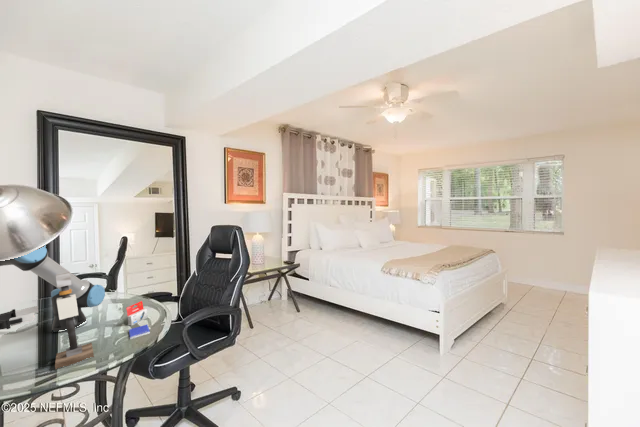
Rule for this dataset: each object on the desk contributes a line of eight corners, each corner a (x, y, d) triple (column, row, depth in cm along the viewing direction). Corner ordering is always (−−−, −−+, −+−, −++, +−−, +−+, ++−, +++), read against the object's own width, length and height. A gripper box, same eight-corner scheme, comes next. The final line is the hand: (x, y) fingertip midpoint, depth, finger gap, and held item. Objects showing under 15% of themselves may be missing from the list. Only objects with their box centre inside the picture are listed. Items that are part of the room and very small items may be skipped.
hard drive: (149, 331, 143) (147, 324, 153) (129, 337, 138) (128, 329, 149) (150, 334, 143) (147, 327, 153) (130, 340, 139) (129, 332, 149)
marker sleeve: (59, 316, 125) (57, 298, 125) (78, 312, 129) (75, 294, 129) (59, 320, 120) (56, 300, 120) (78, 315, 124) (75, 296, 124)
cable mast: (57, 358, 127) (44, 275, 125) (92, 346, 134) (80, 268, 133) (55, 369, 116) (41, 279, 115) (93, 357, 124) (81, 272, 122)
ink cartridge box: (148, 317, 168) (145, 300, 167) (132, 325, 157) (129, 307, 156) (144, 317, 168) (142, 300, 168) (128, 325, 157) (125, 307, 157)
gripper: (-35, 333, 114) (40, 315, 128) (-56, 353, 95) (34, 329, 109) (-38, 314, 114) (37, 298, 128) (-60, 330, 95) (31, 309, 109)
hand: (36, 312), depth 118 cm, fingers open, 13 cm apart
